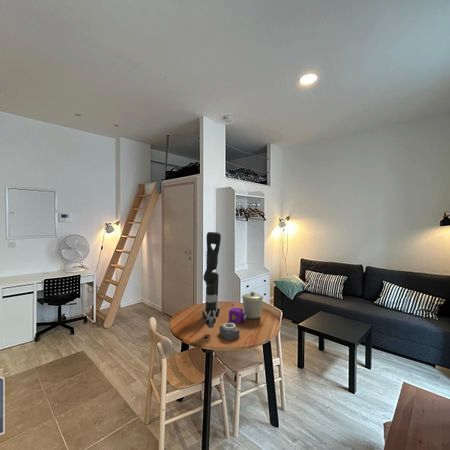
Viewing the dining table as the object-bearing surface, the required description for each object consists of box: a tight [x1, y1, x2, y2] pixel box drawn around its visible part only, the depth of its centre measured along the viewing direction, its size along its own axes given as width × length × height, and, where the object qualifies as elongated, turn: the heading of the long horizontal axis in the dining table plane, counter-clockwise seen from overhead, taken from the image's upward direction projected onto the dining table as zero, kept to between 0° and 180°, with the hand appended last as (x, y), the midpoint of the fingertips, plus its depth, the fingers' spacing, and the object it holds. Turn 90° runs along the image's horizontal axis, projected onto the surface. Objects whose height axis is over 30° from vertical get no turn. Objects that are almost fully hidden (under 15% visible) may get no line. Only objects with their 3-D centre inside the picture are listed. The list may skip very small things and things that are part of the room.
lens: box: [207, 314, 215, 329], centre depth 172 cm, size 5×5×8 cm
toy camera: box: [228, 306, 247, 324], centre depth 193 cm, size 11×14×10 cm
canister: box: [241, 290, 264, 320], centre depth 203 cm, size 18×18×21 cm
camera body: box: [219, 322, 240, 341], centre depth 168 cm, size 12×9×7 cm
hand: (210, 323), depth 172 cm, fingers closed on lens, 4 cm apart
